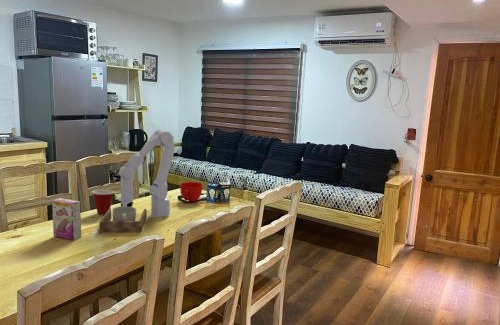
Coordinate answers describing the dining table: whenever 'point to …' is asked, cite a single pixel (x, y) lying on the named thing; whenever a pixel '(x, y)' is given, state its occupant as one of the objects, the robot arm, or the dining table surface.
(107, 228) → the cubby
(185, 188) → the ceramic cup
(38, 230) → the dining table surface
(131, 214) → the teacup
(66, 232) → the candy bar box
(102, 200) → the plastic cup
